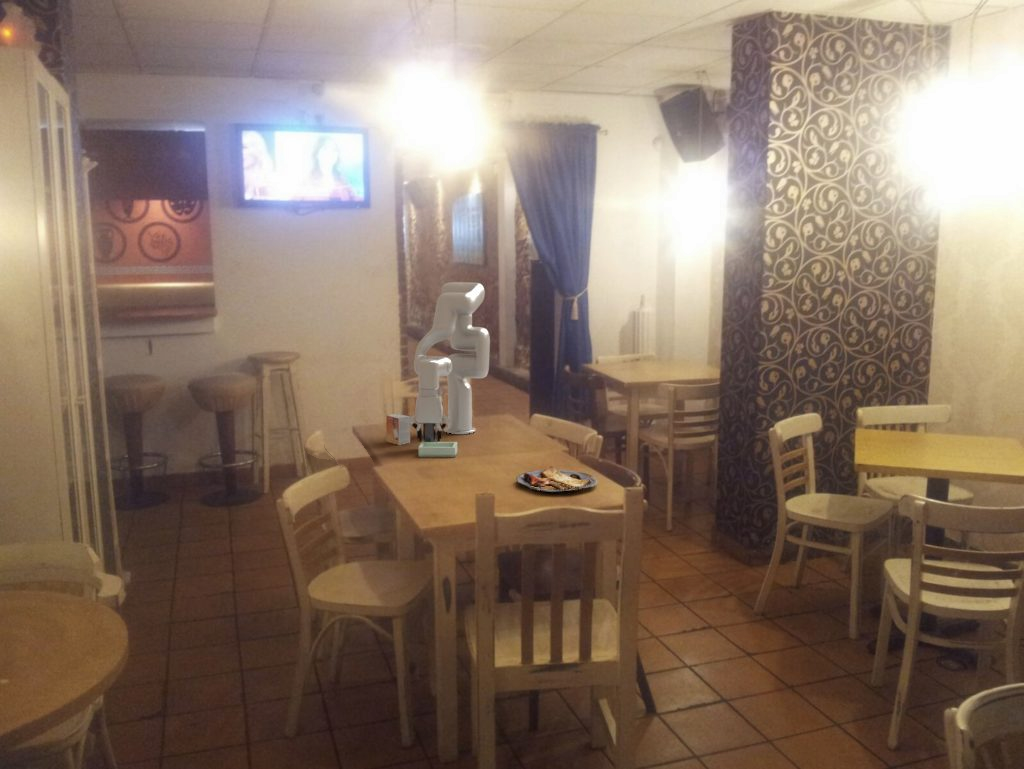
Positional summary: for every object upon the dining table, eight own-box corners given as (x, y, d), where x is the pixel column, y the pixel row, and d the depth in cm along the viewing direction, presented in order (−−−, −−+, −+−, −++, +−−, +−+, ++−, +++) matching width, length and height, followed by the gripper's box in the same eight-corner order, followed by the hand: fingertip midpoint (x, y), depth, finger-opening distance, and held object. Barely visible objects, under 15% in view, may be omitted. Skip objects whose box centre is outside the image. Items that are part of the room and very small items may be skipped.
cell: (424, 447, 328) (423, 418, 327) (436, 447, 328) (436, 418, 327) (422, 450, 324) (422, 421, 322) (435, 450, 324) (434, 421, 322)
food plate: (502, 481, 279) (502, 471, 278) (558, 471, 293) (559, 461, 292) (553, 501, 259) (553, 490, 259) (610, 490, 273) (611, 479, 273)
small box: (386, 442, 337) (385, 415, 335) (398, 440, 341) (397, 413, 339) (398, 445, 331) (398, 418, 330) (410, 443, 335) (410, 416, 334)
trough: (421, 451, 322) (421, 441, 321) (457, 451, 321) (457, 442, 321) (418, 457, 313) (418, 447, 312) (455, 457, 313) (455, 447, 312)
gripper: (453, 391, 326) (453, 438, 329) (406, 391, 327) (407, 438, 329) (451, 394, 319) (452, 443, 322) (404, 394, 319) (404, 443, 322)
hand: (429, 440), depth 326 cm, fingers open, 6 cm apart
